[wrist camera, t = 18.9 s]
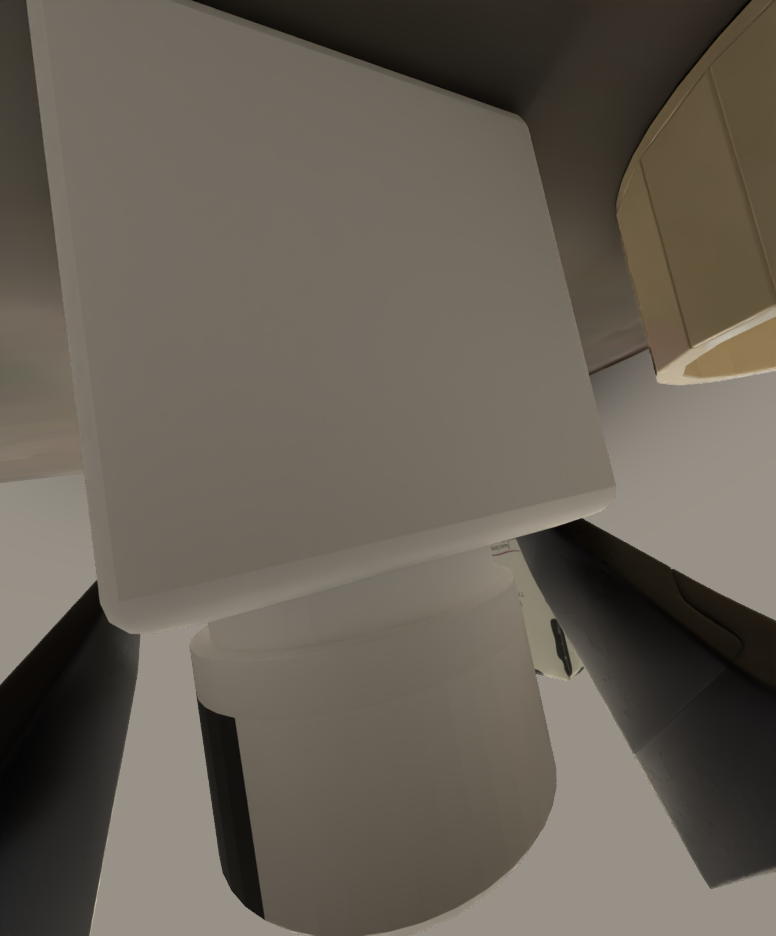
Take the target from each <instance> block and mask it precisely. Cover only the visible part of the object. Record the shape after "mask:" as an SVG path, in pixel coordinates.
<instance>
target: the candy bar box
mask: <svg viewBox="0 0 776 936" xmlns="http://www.w3.org/2000/svg"><path fill="white" fill-rule="evenodd" d="M490 548H491V553H492V558H493V562H494V563H497V564H501V565H504V566H506V567H508V568H510V569H511V570H512V571H513V573H514V577H515V581H516V586H517V590H518V595H519V600H520V604H521V609H522V614H523V618H524V623H525V627H526V632H527V637H528V641H529V646H530V650H531V655H532V660H533V664H534V669H535V673H536V674H539V675H543V676H548V677H552V678H557V679H562V680H567V681H570V680H572V679H573V678H574V677H575V676H576V675H577V674H579V673H580V672H581V671H582V670H583V669H584V667H583V665H582V663H581V662H580V660H579V658H578V656H577V654H576V653H575V651H574V649H573V647H572V646H571V644H570V642H569V640H568V639H567V637H566V635H565V633H564V632H563V630H562V628H561V626H560V625H559V623H558V621H557V619H556V618H555V616H554V614H553V612H552V611H551V609H550V607H549V605H548V603H547V602H546V600H545V598H544V596H543V595H542V593H541V591H540V589H539V588H538V586H537V584H536V582H535V580H534V578H533V577H532V575H531V572H530V570H529V568H528V566H527V563H526V561H525V559H524V557H523V554H522V552H521V550H520V547H519V545H518V543H517V540H516V538H513V539H509V540H505V541H502V542H498V543H494V544H491V545H490Z"/></svg>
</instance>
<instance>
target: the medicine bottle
mask: <svg viewBox="0 0 776 936" xmlns="http://www.w3.org/2000/svg"><path fill="white" fill-rule="evenodd" d="M26 3H27V11H28V19H29V27H30V35H31V44H32V52H33V60H34V68H35V76H36V84H37V93H38V101H39V109H40V117H41V125H42V133H43V142H44V150H45V158H46V166H47V174H48V182H49V190H50V199H51V207H52V215H53V223H54V231H55V239H56V248H57V256H58V264H59V272H60V280H61V288H62V297H63V305H64V313H65V321H66V329H67V337H68V346H69V354H70V362H71V370H72V378H73V386H74V394H75V403H76V411H77V419H78V427H79V435H80V443H81V452H82V460H83V468H84V476H85V484H86V492H87V501H88V508H89V517H90V525H91V533H92V541H93V549H94V557H95V566H96V574H97V582H98V590H99V599H100V604H101V606H102V608H103V610H104V612H105V615H106V617H107V619H108V621H109V622H110V623H111V624H113V625H115V626H117V627H118V628H120V629H122V630H124V631H126V632H128V633H130V634H154V633H160V632H165V631H169V630H175V629H179V628H184V627H189V626H194V625H199V624H204V623H208V626H206V627H205V628H203V629H202V630H201V631H200V632H198V633H197V634H196V635H195V636H194V638H193V639H192V640H191V643H190V652H191V659H192V666H193V674H194V680H195V688H196V694H197V702H198V709H199V715H200V723H201V730H202V737H203V744H204V751H205V758H206V765H207V773H208V780H209V787H210V794H211V801H212V808H213V815H214V822H215V829H216V836H217V843H218V850H219V856H220V861H221V866H222V871H223V874H224V876H225V878H226V880H227V882H228V884H229V886H230V888H231V890H232V892H233V893H234V894H235V895H236V896H237V897H238V899H239V900H240V901H241V902H242V903H243V904H244V906H245V907H247V908H248V909H250V910H251V911H252V912H254V913H256V914H257V915H258V916H260V917H262V918H263V919H264V920H266V921H268V922H270V923H272V924H275V925H277V926H279V927H281V928H284V929H286V930H289V931H291V932H294V933H296V934H298V935H301V936H407V935H411V934H415V933H418V932H422V931H425V930H427V929H429V928H432V927H434V926H436V925H439V924H441V923H443V922H445V921H448V920H450V919H452V918H454V917H456V916H457V915H459V914H461V913H462V912H464V911H466V910H467V909H469V908H470V907H472V906H474V905H475V904H477V903H478V902H480V901H481V900H482V899H484V898H485V897H486V896H487V895H488V894H490V893H491V892H492V891H493V890H494V889H496V888H497V887H498V886H499V885H500V884H502V883H503V882H504V880H505V879H506V878H507V877H508V876H509V874H511V873H512V871H513V870H514V869H515V868H516V867H517V866H518V865H519V864H520V862H521V861H522V859H523V858H524V856H525V855H526V854H527V852H528V851H529V849H530V847H531V846H532V845H533V843H534V841H535V840H536V838H537V837H538V835H539V834H540V832H541V830H542V829H543V827H544V826H545V823H546V821H547V818H548V816H549V813H550V811H551V808H552V806H553V801H554V796H555V790H556V766H555V761H554V756H553V752H552V748H551V743H550V738H549V733H548V729H547V724H546V720H545V715H544V711H543V706H542V701H541V697H540V692H539V687H538V683H537V679H536V673H535V669H534V664H533V660H532V655H531V650H530V646H529V641H528V637H527V632H526V627H525V623H524V618H523V614H522V609H521V604H520V600H519V595H518V590H517V586H516V581H515V577H514V573H513V571H512V570H511V569H510V568H508V567H506V566H504V565H501V564H497V563H494V562H493V558H492V553H491V548H490V545H491V544H494V543H498V542H502V541H505V540H509V539H513V538H516V537H520V536H523V535H527V534H531V533H534V532H538V531H542V530H545V529H549V528H552V527H556V526H559V525H562V524H565V523H568V522H571V521H574V520H577V519H580V518H583V517H586V516H589V515H592V514H595V513H598V512H600V511H602V510H604V509H606V508H607V507H609V505H610V504H611V503H612V501H613V500H614V499H615V493H616V484H615V480H614V476H613V472H612V468H611V464H610V459H609V455H608V451H607V447H606V443H605V439H604V435H603V431H602V427H601V423H600V419H599V415H598V411H597V406H596V402H595V399H594V394H593V390H592V386H591V382H590V378H589V374H588V370H587V365H586V361H585V357H584V353H583V349H582V345H581V341H580V337H579V333H578V329H577V325H576V321H575V316H574V312H573V308H572V304H571V300H570V296H569V292H568V288H567V284H566V280H565V276H564V271H563V267H562V263H561V259H560V255H559V251H558V247H557V243H556V239H555V235H554V231H553V227H552V222H551V218H550V214H549V210H548V206H547V202H546V198H545V194H544V190H543V186H542V182H541V177H540V173H539V169H538V165H537V161H536V157H535V153H534V149H533V145H532V141H531V137H530V133H529V128H528V126H527V125H526V123H525V122H524V120H523V119H522V118H521V117H520V116H518V115H516V114H513V113H511V112H508V111H505V110H502V109H499V108H496V107H494V106H491V105H488V104H485V103H482V102H479V101H476V100H474V99H471V98H468V97H465V96H462V95H459V94H457V93H454V92H451V91H448V90H445V89H442V88H439V87H437V86H434V85H431V84H428V83H425V82H422V81H420V80H417V79H414V78H411V77H408V76H405V75H402V74H400V73H397V72H394V71H391V70H388V69H385V68H383V67H380V66H377V65H374V64H371V63H368V62H366V61H363V60H360V59H357V58H354V57H351V56H348V55H346V54H343V53H340V52H337V51H334V50H331V49H329V48H326V47H323V46H320V45H317V44H314V43H311V42H309V41H306V40H303V39H300V38H297V37H294V36H292V35H289V34H286V33H283V32H280V31H277V30H274V29H272V28H269V27H266V26H263V25H260V24H257V23H255V22H252V21H249V20H246V19H243V18H240V17H237V16H235V15H232V14H229V13H226V12H223V11H220V10H218V9H215V8H212V7H209V6H206V5H203V4H201V3H198V2H195V1H192V0H26Z"/></svg>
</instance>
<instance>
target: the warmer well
mask: <svg viewBox="0 0 776 936" xmlns="http://www.w3.org/2000/svg"><path fill="white" fill-rule="evenodd" d="M616 219H617V223H618V227H619V232H620V238H621V244H622V248H623V252H624V256H625V259H626V263H627V267H628V271H629V275H630V279H631V283H632V286H633V290H634V294H635V298H636V302H637V306H638V310H639V314H640V317H641V321H642V325H643V329H644V333H645V337H646V341H647V344H648V348H649V352H650V356H651V359H652V364H653V368H654V371H655V375H656V379H657V382H658V383H663V384H672V385H691V384H700V383H709V382H718V381H724V380H729V379H735V378H740V377H745V376H751V375H756V374H762V373H767V372H771V371H776V0H752V1H751V2H750V3H749V4H748V5H747V6H746V7H745V8H744V9H743V11H742V12H741V13H740V14H739V15H738V16H737V17H736V18H735V19H734V20H733V22H732V23H731V24H730V25H729V26H728V27H727V28H726V29H725V30H724V31H723V33H722V34H721V35H720V36H719V37H718V38H717V39H716V40H715V42H714V43H713V44H712V45H711V46H710V48H709V49H708V50H707V51H706V53H705V54H704V55H703V56H702V58H701V59H700V60H699V61H698V62H697V64H696V65H695V66H694V67H693V69H692V70H691V71H690V72H689V74H688V75H687V76H686V77H685V78H684V80H683V81H682V82H681V83H680V85H679V86H678V87H677V88H676V90H675V91H674V93H673V94H672V96H671V97H670V98H669V100H668V101H667V103H666V104H665V106H664V107H663V108H662V110H661V111H660V113H659V114H658V115H657V117H656V118H655V120H654V121H653V123H652V124H651V125H650V127H649V129H648V131H647V132H646V134H645V136H644V137H643V139H642V141H641V143H640V144H639V146H638V148H637V149H636V151H635V153H634V155H633V156H632V159H631V161H630V163H629V166H628V168H627V170H626V172H625V175H624V177H623V179H622V182H621V186H620V190H619V194H618V198H617V202H616Z"/></svg>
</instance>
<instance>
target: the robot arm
mask: <svg viewBox="0 0 776 936" xmlns="http://www.w3.org/2000/svg"><path fill="white" fill-rule="evenodd" d="M516 540H517V543H518V545H519V547H520V550H521V552H522V554H523V557H524V559H525V561H526V563H527V566H528V568H529V570H530V572H531V575H532V577H533V578H534V580H535V582H536V584H537V586H538V588H539V589H540V591H541V593H542V595H543V596H544V598H545V600H546V602H547V603H548V605H549V607H550V609H551V611H552V612H553V614H554V616H555V618H556V619H557V621H558V623H559V625H560V626H561V628H562V630H563V632H564V633H565V635H566V637H567V639H568V640H569V642H570V644H571V646H572V647H573V649H574V651H575V653H576V654H577V656H578V658H579V660H580V662H581V663H582V665H583V667H584V669H585V670H586V672H587V674H588V675H589V677H590V679H591V681H592V683H593V684H594V686H595V688H596V690H597V691H598V693H599V695H600V697H601V698H602V700H603V702H604V704H605V705H606V707H607V709H608V710H609V713H610V714H611V716H612V718H613V720H614V721H615V723H616V725H617V727H618V728H619V730H620V732H621V734H622V735H623V737H624V739H625V741H626V742H627V744H628V746H629V748H630V749H631V751H632V753H633V754H635V755H634V757H635V759H636V760H637V762H638V764H639V766H640V768H641V769H642V771H643V773H644V775H645V776H646V778H647V780H648V782H649V783H650V785H651V787H652V788H653V790H654V792H655V794H656V796H657V797H658V799H659V801H660V803H661V804H662V806H663V808H664V810H665V812H666V813H667V815H668V817H669V819H670V820H671V822H672V824H673V826H674V827H675V829H676V831H677V833H678V834H679V836H680V838H681V840H682V841H683V843H684V845H685V847H686V848H687V850H688V852H689V854H690V855H691V857H692V859H693V860H694V862H695V864H696V866H697V868H698V870H699V871H700V873H701V875H702V876H703V878H704V880H705V881H706V883H707V884H708V886H709V887H710V888H711V889H714V888H718V887H721V886H725V885H729V884H733V883H736V882H740V881H744V880H747V879H751V878H754V877H758V876H762V875H766V874H770V873H773V872H776V621H775V620H773V619H771V618H769V617H767V616H765V615H763V614H761V613H758V612H756V611H754V610H752V609H750V608H748V607H746V606H744V605H742V604H740V603H737V602H736V601H734V600H732V599H730V598H728V597H725V596H724V595H721V594H720V593H717V592H715V591H714V590H712V589H710V588H708V587H706V586H704V585H702V584H700V583H698V582H696V581H695V580H693V579H691V578H689V577H687V576H686V575H684V574H682V573H680V572H678V571H677V570H674V569H671V568H670V567H669V566H667V565H665V564H664V563H662V562H660V561H658V560H657V559H655V558H653V557H651V556H649V555H647V554H646V553H644V552H642V551H640V550H638V549H636V548H635V547H633V546H631V545H629V544H628V543H626V542H624V541H622V540H620V539H618V538H617V537H615V536H613V535H611V534H609V533H608V532H606V531H604V530H602V529H600V528H599V527H597V526H595V525H593V524H591V523H590V522H588V521H585V520H584V519H582V518H580V519H577V520H574V521H571V522H568V523H565V524H562V525H559V526H556V527H552V528H549V529H545V530H542V531H538V532H534V533H531V534H527V535H523V536H520V537H516ZM139 647H140V634H130V633H128V632H126V631H124V630H122V629H120V628H118V627H117V626H115V625H113V624H111V623H110V622H109V621H108V619H107V617H106V615H105V612H104V610H103V608H102V606H101V604H100V599H99V590H98V582H97V581H95V582H94V584H93V585H92V586H91V587H90V588H89V589H88V590H87V591H86V592H85V593H84V594H83V595H82V597H81V598H80V599H79V600H78V601H77V602H76V603H75V604H74V605H73V606H72V607H71V609H70V610H69V611H68V612H67V613H66V614H65V615H64V616H63V617H62V618H61V619H60V621H59V622H58V623H57V624H56V625H55V626H54V627H53V628H52V629H51V630H50V632H48V634H47V635H46V636H45V637H44V638H43V639H42V640H41V641H40V642H39V643H38V644H37V646H36V647H35V648H34V649H33V650H32V651H31V652H30V653H29V654H28V655H27V656H26V657H25V659H24V660H23V661H22V662H21V663H20V664H19V665H18V666H17V667H16V668H15V670H13V672H12V673H11V674H10V675H9V676H8V677H7V678H6V679H5V680H4V681H3V682H2V684H1V685H0V936H90V933H91V927H92V921H93V916H94V911H95V905H96V900H97V894H98V888H99V883H100V878H101V872H102V866H103V861H104V856H105V850H106V845H107V839H108V834H109V828H110V823H111V817H112V812H113V806H114V801H115V796H116V790H117V785H118V779H119V773H120V768H121V763H122V757H123V752H124V746H125V740H126V735H127V730H128V724H129V719H130V713H131V708H132V702H133V696H134V691H135V685H136V680H137V673H138V661H139Z"/></svg>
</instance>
